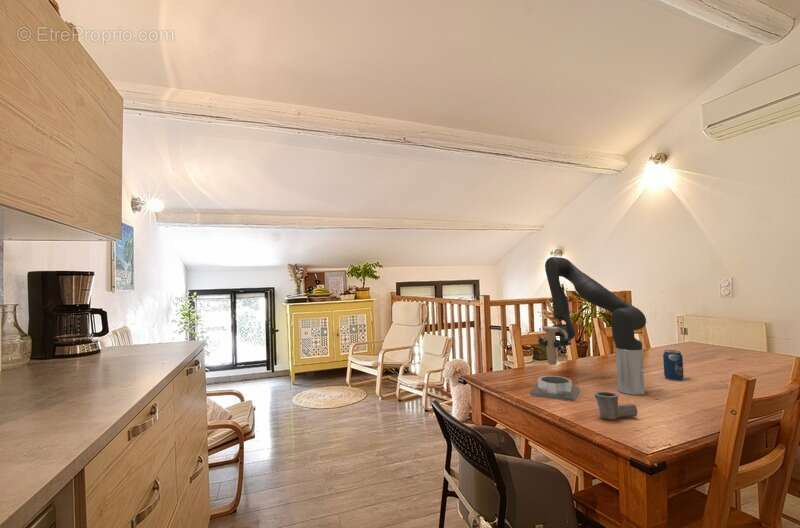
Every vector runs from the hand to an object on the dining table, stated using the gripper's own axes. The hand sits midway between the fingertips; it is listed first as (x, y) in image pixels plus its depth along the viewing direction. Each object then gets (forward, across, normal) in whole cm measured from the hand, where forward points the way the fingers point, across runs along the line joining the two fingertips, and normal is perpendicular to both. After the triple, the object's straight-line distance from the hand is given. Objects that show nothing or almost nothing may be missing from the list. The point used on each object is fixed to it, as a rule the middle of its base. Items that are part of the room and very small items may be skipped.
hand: (550, 344), depth 150 cm
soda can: (-44, +43, +20) cm, 65 cm away
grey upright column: (-3, 0, +9) cm, 9 cm away
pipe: (+17, +22, +20) cm, 34 cm away
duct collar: (-3, +1, +20) cm, 20 cm away
